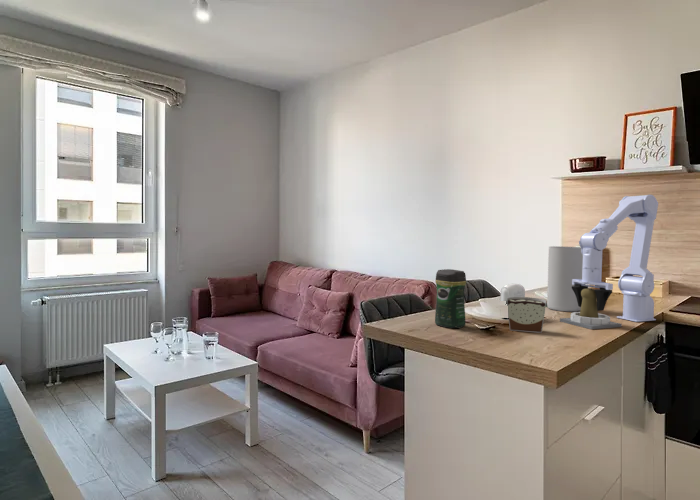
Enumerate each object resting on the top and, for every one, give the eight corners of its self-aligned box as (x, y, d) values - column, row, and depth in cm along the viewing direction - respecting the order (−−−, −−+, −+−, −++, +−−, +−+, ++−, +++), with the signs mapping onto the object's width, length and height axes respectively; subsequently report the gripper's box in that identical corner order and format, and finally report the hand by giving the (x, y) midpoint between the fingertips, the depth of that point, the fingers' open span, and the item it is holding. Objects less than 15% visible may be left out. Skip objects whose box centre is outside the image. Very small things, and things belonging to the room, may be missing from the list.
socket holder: (588, 319, 157) (588, 310, 157) (621, 326, 145) (621, 317, 145) (559, 321, 153) (560, 312, 153) (591, 329, 141) (591, 320, 141)
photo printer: (515, 315, 164) (516, 282, 163) (526, 317, 160) (526, 283, 160) (497, 318, 158) (498, 283, 158) (508, 320, 155) (508, 285, 154)
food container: (545, 329, 141) (546, 298, 141) (547, 333, 135) (548, 300, 135) (504, 326, 145) (505, 295, 145) (504, 329, 139) (505, 298, 139)
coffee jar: (469, 326, 143) (470, 270, 142) (453, 330, 139) (454, 271, 138) (446, 321, 151) (448, 267, 150) (430, 324, 147) (431, 268, 146)
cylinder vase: (587, 312, 171) (589, 247, 170) (555, 311, 171) (557, 247, 170) (572, 306, 184) (573, 246, 182) (541, 306, 184) (543, 246, 183)
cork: (574, 319, 152) (575, 287, 151) (590, 319, 153) (591, 287, 152) (586, 323, 146) (587, 290, 145) (603, 322, 147) (604, 289, 146)
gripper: (565, 266, 154) (564, 305, 154) (601, 270, 140) (600, 312, 141) (581, 266, 156) (580, 304, 157) (618, 270, 143) (616, 311, 143)
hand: (590, 308), depth 149 cm, fingers open, 7 cm apart
